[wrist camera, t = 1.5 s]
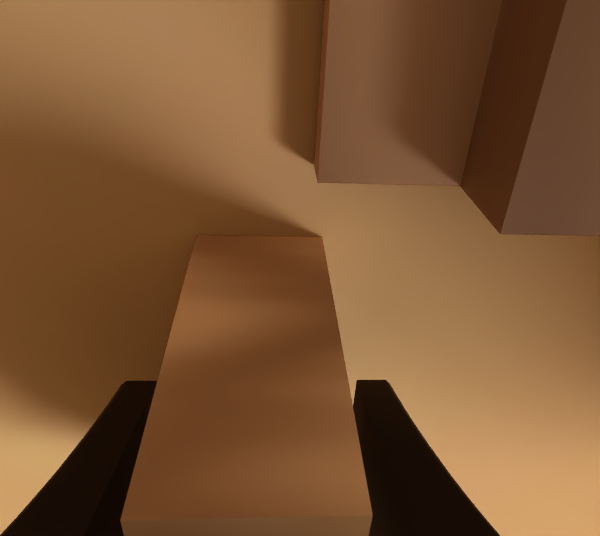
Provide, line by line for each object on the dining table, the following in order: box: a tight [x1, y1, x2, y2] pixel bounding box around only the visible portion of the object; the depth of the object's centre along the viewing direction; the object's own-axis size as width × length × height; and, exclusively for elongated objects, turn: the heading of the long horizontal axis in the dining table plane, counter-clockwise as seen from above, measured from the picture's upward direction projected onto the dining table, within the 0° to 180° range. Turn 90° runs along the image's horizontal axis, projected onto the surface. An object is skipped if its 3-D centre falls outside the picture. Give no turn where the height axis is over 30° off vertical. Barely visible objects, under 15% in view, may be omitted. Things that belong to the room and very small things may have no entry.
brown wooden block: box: [120, 235, 373, 536], centre depth 9 cm, size 3×7×6 cm, turn 177°
